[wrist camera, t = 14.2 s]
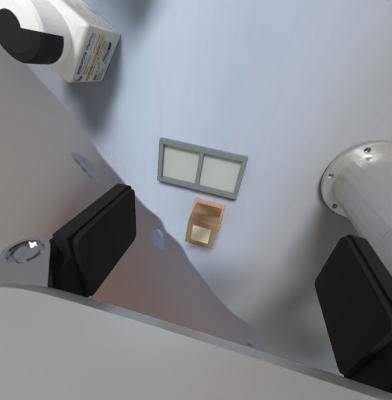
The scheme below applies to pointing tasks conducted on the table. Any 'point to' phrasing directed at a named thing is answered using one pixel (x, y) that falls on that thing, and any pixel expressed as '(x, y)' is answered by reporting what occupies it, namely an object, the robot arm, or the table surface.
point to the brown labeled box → (203, 225)
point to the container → (58, 37)
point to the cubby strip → (200, 167)
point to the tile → (213, 206)
